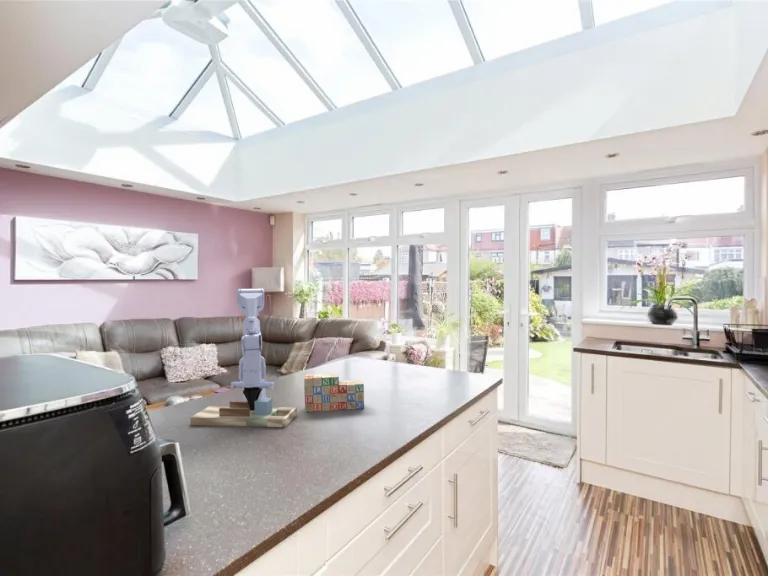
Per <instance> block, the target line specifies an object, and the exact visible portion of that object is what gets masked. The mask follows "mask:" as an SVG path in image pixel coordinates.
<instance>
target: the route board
mask: <svg viewBox="0 0 768 576" xmlns="http://www.w3.org/2000/svg"><path fill="white" fill-rule="evenodd" d="M297 409H298V408H297V407H283V406H281V407H280V406H278V407H277V406H275V407H274V406H272V412H271V413H269V414H268V415H255V410H250V407H249V404H248V401H243V400H230V401H229V406H228V405H227V406H226V405H225V406H224V405H223V406H222V405H209V406H207V407H206V408H203V409H202V410H200V411H199V412H197V413H195V414H193V415H192V416H190V418H189V419H190V426H214V427H215V426H218V427H219V426H221V427H224V426H225V427H262V428H263V427H264V428H266V427H267V428H286V427H287V426H288V425H289V424H290V423H291V422H292V420H294V419H295V417H296V416H297V415H298V414H297V413H298V412H297V411H298V410H297Z"/></svg>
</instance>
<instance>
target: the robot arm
mask: <svg viewBox="0 0 768 576" xmlns="http://www.w3.org/2000/svg"><path fill="white" fill-rule="evenodd" d="M236 294H237V297H236V298H237V301H236V302H237V306H238V309H239V311H240V312H242V313H243V314H244V316H245V319H244V320H243V322H242V337H241V352H242V357H241V358H240V359H239V362H238V379H239V381H232V382H231V383H230V389H242V401H248V404H249V407H250V410H255V401H256V400H258V399H259V398H267V392H266V391H267V389H269V390H273V389H274V388H275V381H266V380H264V379H266V377H267V370H266V369H267V368H266V367H267V365H266V359H265V357H264V356H262V352H261V351H262V349H263V337H262V332H261V321H260V319H259V318H258V316H259V312H261V311H263V310H264V308H265V289H264V288H238V289H237V293H236Z"/></svg>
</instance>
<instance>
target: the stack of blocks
mask: <svg viewBox="0 0 768 576" xmlns="http://www.w3.org/2000/svg"><path fill="white" fill-rule="evenodd" d="M339 379H340V378H339V373H338V372H333V373H315V374H313V373H311V374H310V373H309V374H305V376H304V379H303V380H304V383H303V384H304V388H303V389H304V393H303V394H304V412H305V411H309V412H328V411H329V410H332V411H342V410H341V409H352V410H364V409H365V391H364V390H365V385H364V381H363V379H359V380H354V379H353V380H352V379H351V380H339ZM329 412H330V411H329Z"/></svg>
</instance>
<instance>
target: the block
mask: <svg viewBox="0 0 768 576" xmlns="http://www.w3.org/2000/svg"><path fill="white" fill-rule="evenodd" d="M272 407H273V397H266V398H259V399H258V400H256V401H255V415H268V414H269V413H271V412H272Z"/></svg>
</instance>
